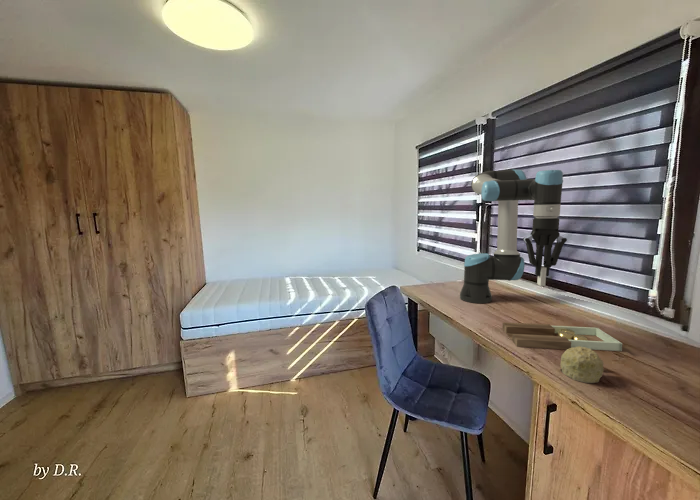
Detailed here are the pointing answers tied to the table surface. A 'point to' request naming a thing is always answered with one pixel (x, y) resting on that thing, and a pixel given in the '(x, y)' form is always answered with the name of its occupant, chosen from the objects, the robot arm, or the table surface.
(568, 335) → the chip
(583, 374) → the decorative object
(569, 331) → the chip
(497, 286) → the table surface
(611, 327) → the table surface
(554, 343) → the slot board
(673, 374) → the table surface
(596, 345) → the tray
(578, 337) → the chip
